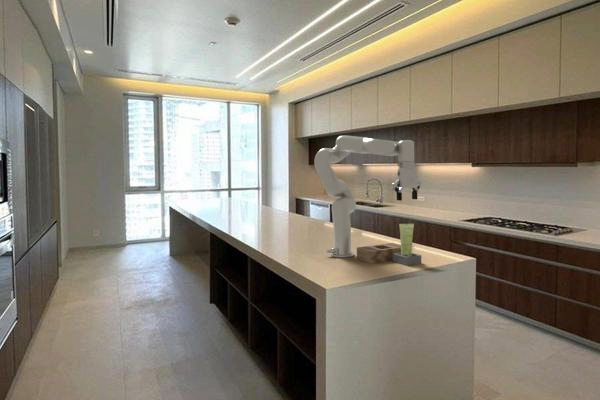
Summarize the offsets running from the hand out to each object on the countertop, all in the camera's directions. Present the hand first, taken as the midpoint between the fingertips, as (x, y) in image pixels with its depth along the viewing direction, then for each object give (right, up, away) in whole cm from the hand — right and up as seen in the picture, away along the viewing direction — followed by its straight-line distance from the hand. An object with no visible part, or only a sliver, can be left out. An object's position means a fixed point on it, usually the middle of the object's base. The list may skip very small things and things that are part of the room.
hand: (407, 199), depth 188 cm
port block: (-10, -31, +10) cm, 34 cm away
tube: (0, -32, +1) cm, 32 cm away
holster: (0, -31, +1) cm, 31 cm away
